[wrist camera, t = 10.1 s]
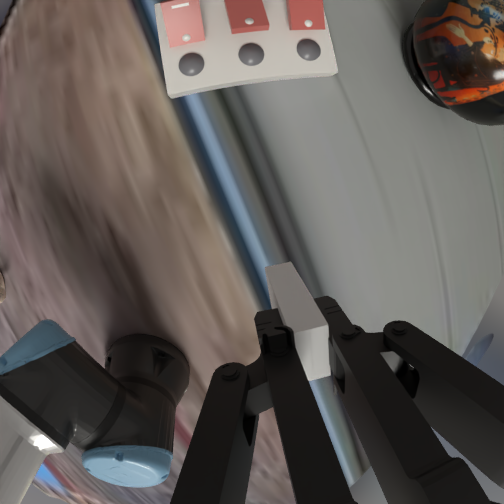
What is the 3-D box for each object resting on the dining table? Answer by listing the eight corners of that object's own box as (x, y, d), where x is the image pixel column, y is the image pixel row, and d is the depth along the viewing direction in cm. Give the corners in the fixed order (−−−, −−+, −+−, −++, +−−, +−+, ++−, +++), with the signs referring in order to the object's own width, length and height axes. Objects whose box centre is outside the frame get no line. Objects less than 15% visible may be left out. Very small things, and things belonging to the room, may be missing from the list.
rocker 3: (286, 30, 32) (292, 30, 30) (281, -12, 28) (286, -15, 26) (318, 29, 33) (325, 29, 31) (313, -12, 28) (320, -15, 26)
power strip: (171, 98, 37) (167, 95, 34) (158, 12, 32) (154, 3, 29) (330, 76, 37) (338, 72, 34) (311, -6, 33) (317, -15, 30)
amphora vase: (388, -11, 32) (499, -77, 6) (479, 41, 35) (590, 26, 9) (379, 98, 39) (533, 81, 13) (473, 140, 42) (601, 165, 16)
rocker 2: (231, 40, 31) (231, 28, 28) (223, 5, 30) (223, -7, 28) (267, 36, 31) (269, 24, 28) (257, 1, 30) (258, -11, 28)
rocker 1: (170, 41, 32) (169, 48, 31) (161, 0, 27) (160, 3, 25) (204, 35, 32) (205, 40, 31) (197, -8, 27) (198, -5, 25)
